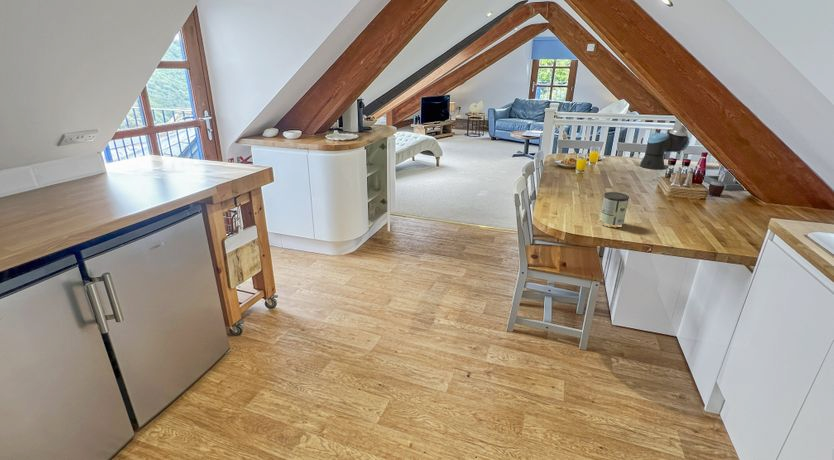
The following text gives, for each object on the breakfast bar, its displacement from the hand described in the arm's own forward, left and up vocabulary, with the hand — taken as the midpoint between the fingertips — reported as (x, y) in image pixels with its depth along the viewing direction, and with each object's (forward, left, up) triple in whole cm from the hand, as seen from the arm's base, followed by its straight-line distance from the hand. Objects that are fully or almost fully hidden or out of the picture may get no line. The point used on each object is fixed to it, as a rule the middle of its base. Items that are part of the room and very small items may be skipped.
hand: (727, 178), depth 249 cm
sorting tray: (0, 0, -5) cm, 5 cm away
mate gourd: (+20, -20, -5) cm, 29 cm away
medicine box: (0, 0, -4) cm, 4 cm away
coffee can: (+63, -100, -5) cm, 118 cm away
